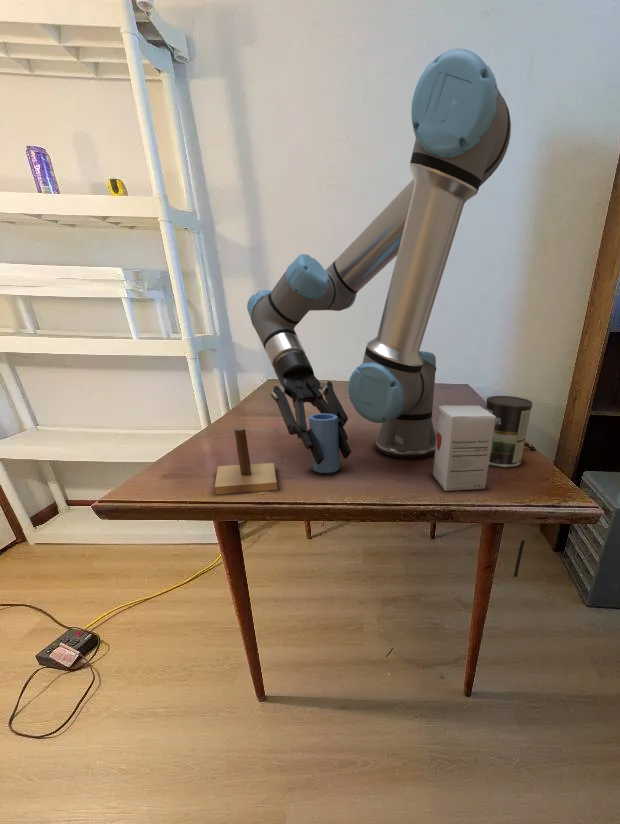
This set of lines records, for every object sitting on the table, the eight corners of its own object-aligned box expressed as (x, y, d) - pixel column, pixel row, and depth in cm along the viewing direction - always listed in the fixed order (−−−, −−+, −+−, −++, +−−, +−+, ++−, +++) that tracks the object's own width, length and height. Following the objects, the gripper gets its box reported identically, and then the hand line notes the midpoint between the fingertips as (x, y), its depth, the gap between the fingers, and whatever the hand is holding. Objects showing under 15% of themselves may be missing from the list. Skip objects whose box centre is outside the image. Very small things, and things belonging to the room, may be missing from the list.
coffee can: (493, 469, 97) (502, 406, 90) (470, 455, 106) (478, 396, 99) (530, 465, 101) (542, 404, 94) (506, 451, 109) (515, 394, 102)
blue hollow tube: (336, 463, 95) (334, 412, 89) (341, 471, 90) (339, 419, 85) (311, 464, 93) (307, 413, 88) (314, 473, 89) (310, 420, 83)
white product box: (431, 475, 93) (437, 404, 85) (470, 473, 94) (479, 404, 87) (444, 491, 85) (451, 415, 77) (486, 489, 87) (497, 415, 79)
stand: (274, 469, 91) (268, 420, 86) (277, 489, 82) (271, 435, 77) (219, 473, 88) (209, 422, 83) (216, 494, 79) (205, 438, 74)
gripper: (323, 371, 99) (364, 458, 96) (243, 377, 88) (287, 475, 85) (334, 348, 93) (378, 441, 90) (250, 352, 82) (298, 457, 79)
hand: (334, 457), depth 88 cm, fingers closed on blue hollow tube, 6 cm apart
